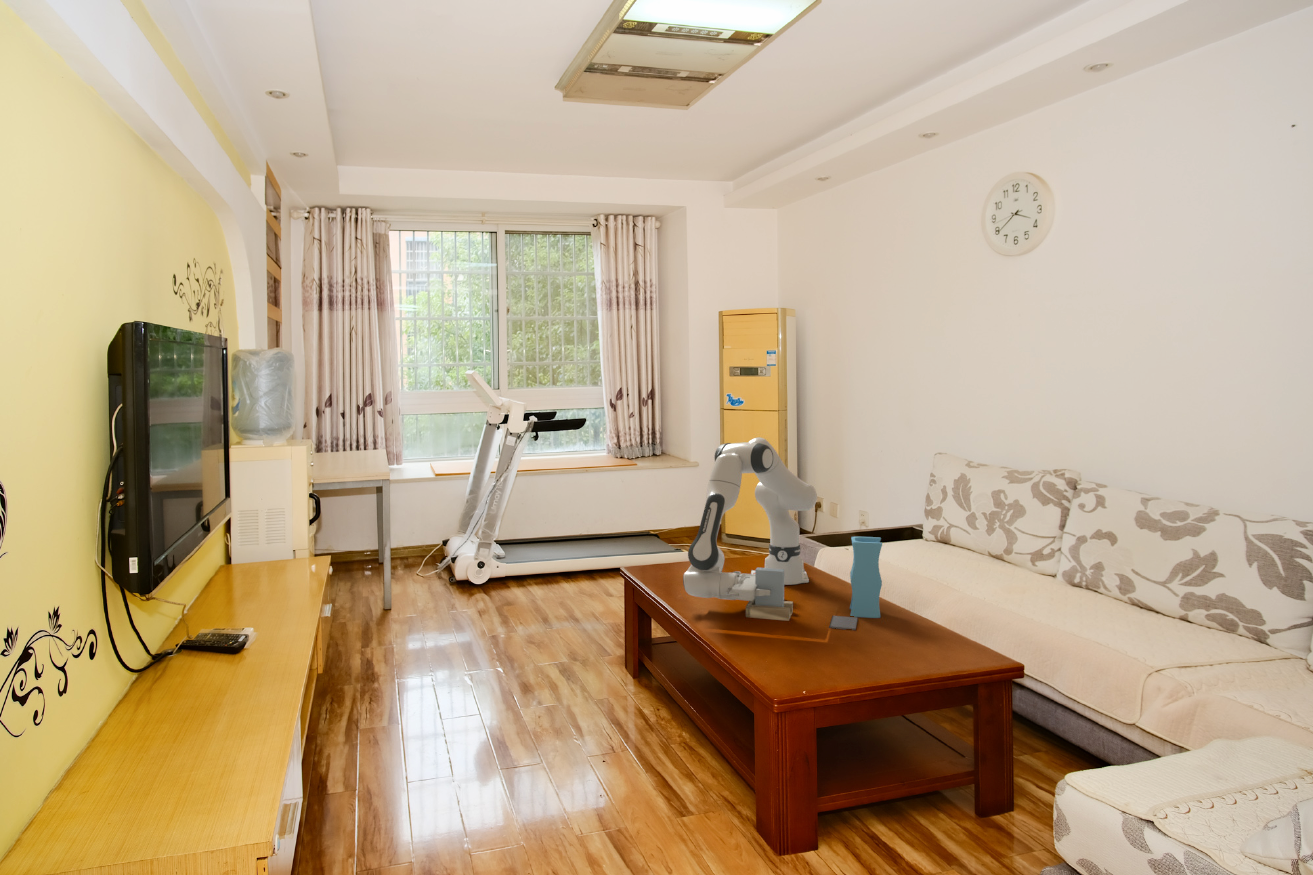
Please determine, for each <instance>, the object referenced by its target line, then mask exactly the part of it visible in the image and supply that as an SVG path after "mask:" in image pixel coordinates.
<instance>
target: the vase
mask: <svg viewBox="0 0 1313 875" xmlns="http://www.w3.org/2000/svg"><path fill="white" fill-rule="evenodd" d="M881 540H882V538H881V537H873V536H851V544H852V551H853V552H852V553H853V554H852V556H853V560H852V565H851V570H850V574H849V577H850V578H849V579H850V586H851V600H850V605H849V610H850V616H854V617H856V618H869V619H880V618H881V610H880V594H881V590H882V586H883V581H882V577H881V576H882V575H881V572H880V567H879V566H880V565H879V564H880V563H879V561H880V555H881V551H882V547H883V542H881ZM850 616H849V617H850Z"/></svg>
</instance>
